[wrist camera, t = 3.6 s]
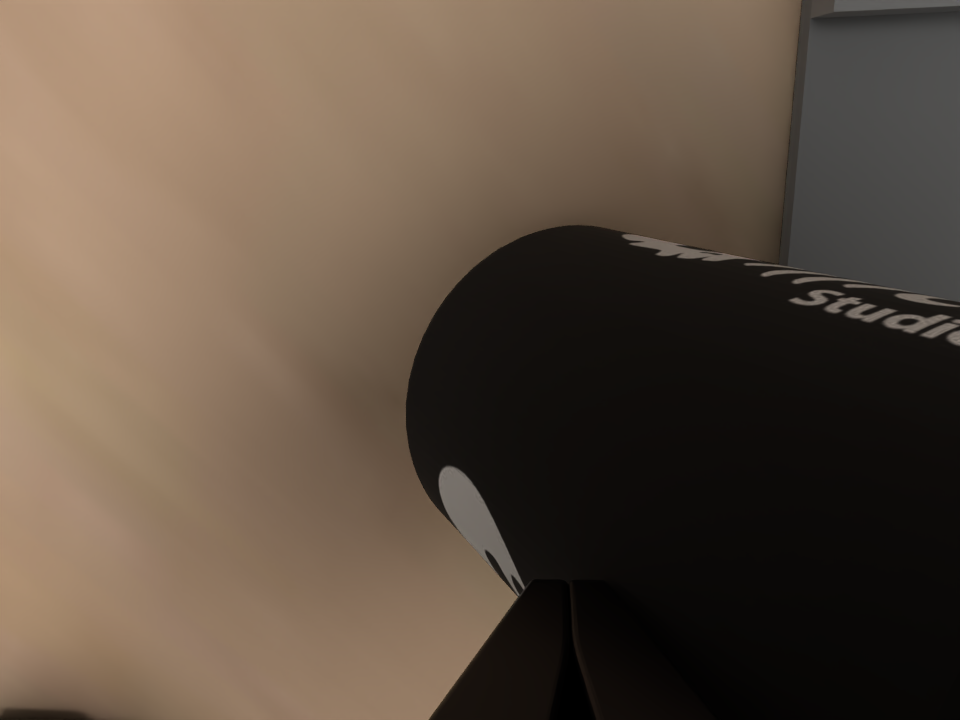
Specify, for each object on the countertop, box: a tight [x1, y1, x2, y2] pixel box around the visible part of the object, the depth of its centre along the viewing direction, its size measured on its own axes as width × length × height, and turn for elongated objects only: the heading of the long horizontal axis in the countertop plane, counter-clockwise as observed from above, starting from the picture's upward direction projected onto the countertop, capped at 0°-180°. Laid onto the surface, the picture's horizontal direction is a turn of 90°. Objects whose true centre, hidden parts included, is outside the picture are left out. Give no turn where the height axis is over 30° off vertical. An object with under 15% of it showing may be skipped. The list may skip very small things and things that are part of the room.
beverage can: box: [406, 225, 960, 720], centre depth 11 cm, size 7×7×12 cm
